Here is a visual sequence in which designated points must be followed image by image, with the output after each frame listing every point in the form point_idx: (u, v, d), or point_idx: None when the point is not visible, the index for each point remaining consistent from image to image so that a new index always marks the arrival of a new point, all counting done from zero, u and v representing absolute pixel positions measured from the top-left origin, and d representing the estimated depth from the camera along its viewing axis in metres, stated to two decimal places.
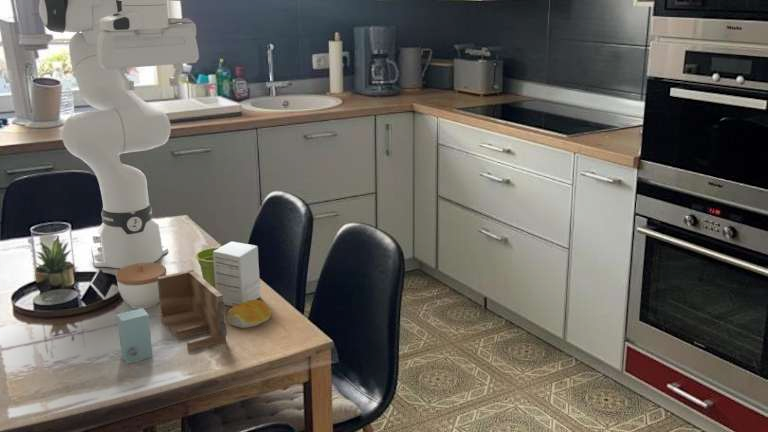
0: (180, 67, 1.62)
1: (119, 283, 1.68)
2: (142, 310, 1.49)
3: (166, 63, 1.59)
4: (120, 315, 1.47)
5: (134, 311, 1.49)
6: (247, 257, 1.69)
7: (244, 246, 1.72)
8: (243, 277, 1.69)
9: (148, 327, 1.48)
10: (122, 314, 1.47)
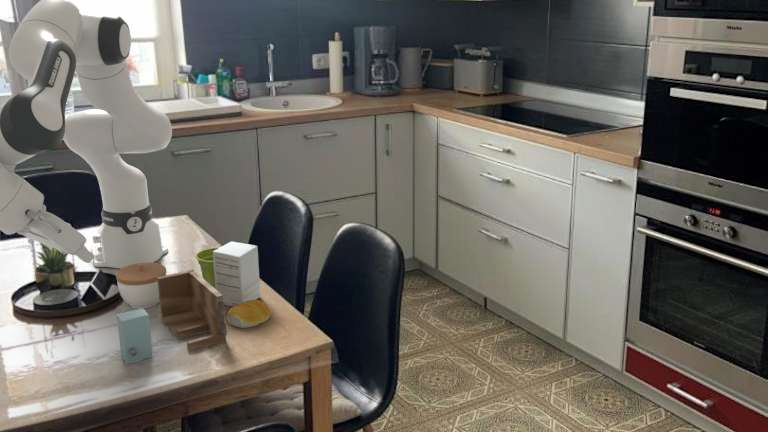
0: None
1: (119, 283, 1.68)
2: (142, 310, 1.49)
3: None
4: (120, 315, 1.47)
5: (134, 311, 1.49)
6: (247, 257, 1.69)
7: (244, 246, 1.72)
8: (243, 277, 1.69)
9: (148, 327, 1.48)
10: (122, 314, 1.47)
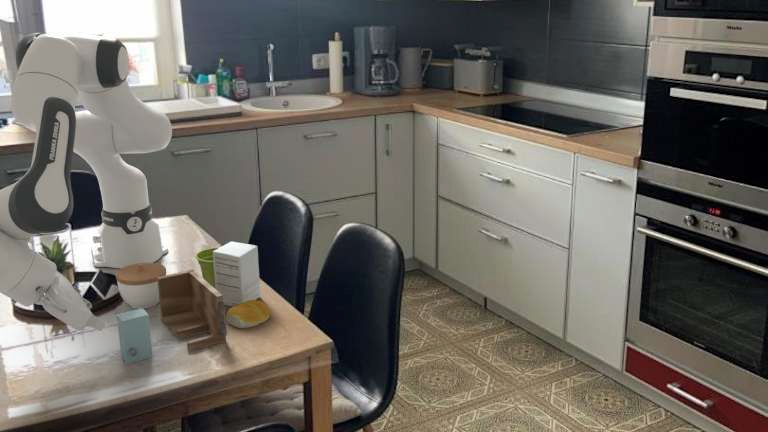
0: None
1: (119, 283, 1.68)
2: (142, 310, 1.49)
3: None
4: (120, 315, 1.47)
5: (134, 311, 1.49)
6: (247, 257, 1.69)
7: (244, 246, 1.72)
8: (243, 277, 1.69)
9: (148, 327, 1.48)
10: (122, 314, 1.47)
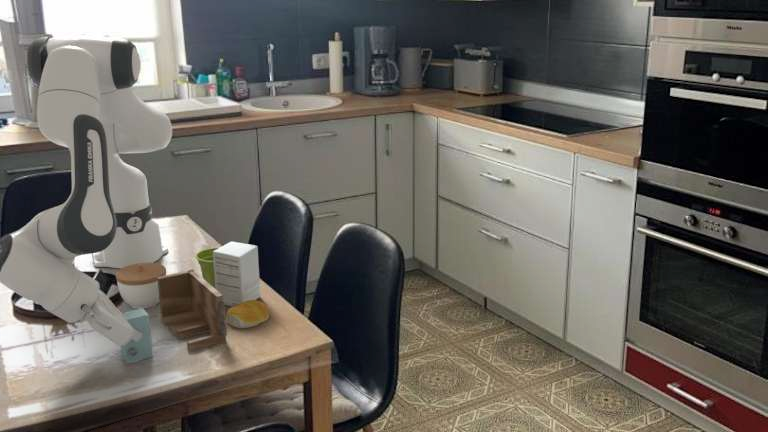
0: None
1: (119, 283, 1.68)
2: (142, 310, 1.49)
3: None
4: None
5: (134, 311, 1.49)
6: (247, 257, 1.69)
7: (244, 246, 1.72)
8: (243, 277, 1.69)
9: (148, 327, 1.48)
10: (122, 314, 1.47)
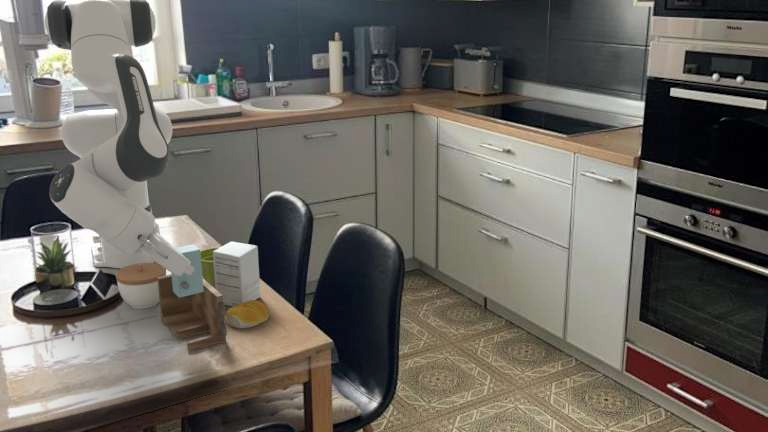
0: None
1: (119, 283, 1.68)
2: (193, 245, 1.52)
3: None
4: None
5: (186, 246, 1.51)
6: (247, 257, 1.69)
7: (244, 246, 1.72)
8: (243, 277, 1.69)
9: (200, 261, 1.51)
10: None
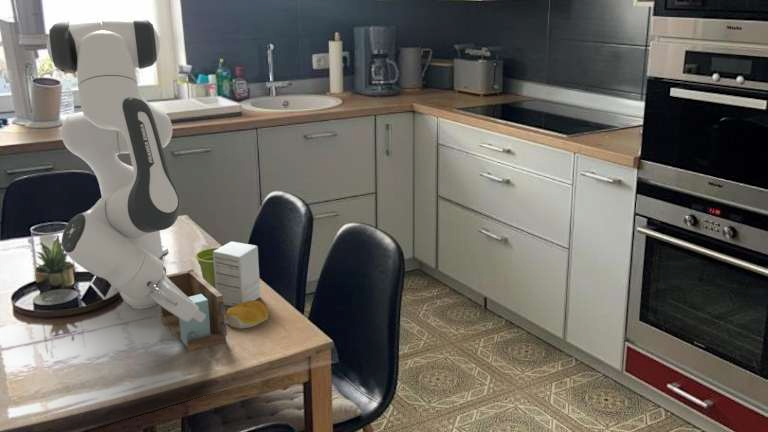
0: None
1: None
2: (201, 295, 1.55)
3: None
4: None
5: (194, 296, 1.55)
6: (247, 257, 1.69)
7: (244, 246, 1.72)
8: (243, 277, 1.69)
9: (207, 311, 1.54)
10: None
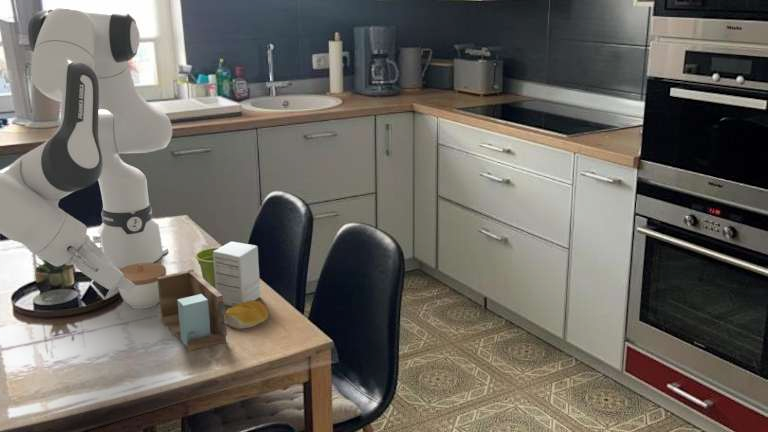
0: None
1: None
2: (201, 296, 1.55)
3: None
4: (181, 300, 1.53)
5: (194, 296, 1.55)
6: (247, 257, 1.69)
7: (244, 246, 1.72)
8: (243, 277, 1.69)
9: (207, 311, 1.54)
10: (182, 299, 1.54)
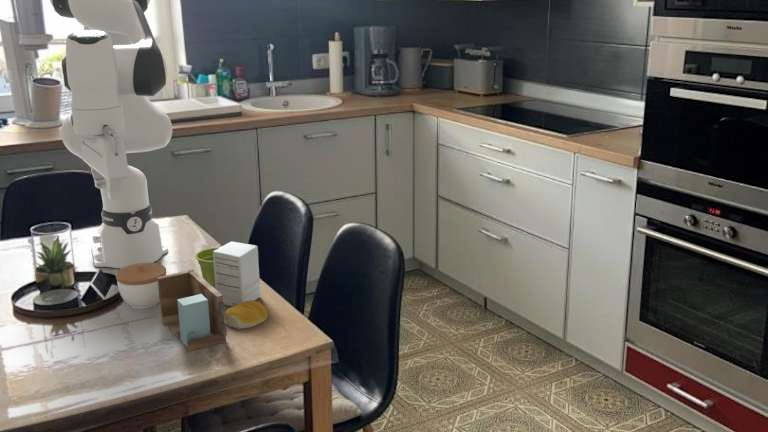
0: (108, 181, 1.40)
1: (119, 283, 1.68)
2: (201, 295, 1.55)
3: (99, 172, 1.42)
4: (181, 300, 1.53)
5: (193, 296, 1.55)
6: (247, 257, 1.69)
7: (244, 246, 1.72)
8: (243, 277, 1.69)
9: (207, 311, 1.54)
10: (182, 299, 1.54)
